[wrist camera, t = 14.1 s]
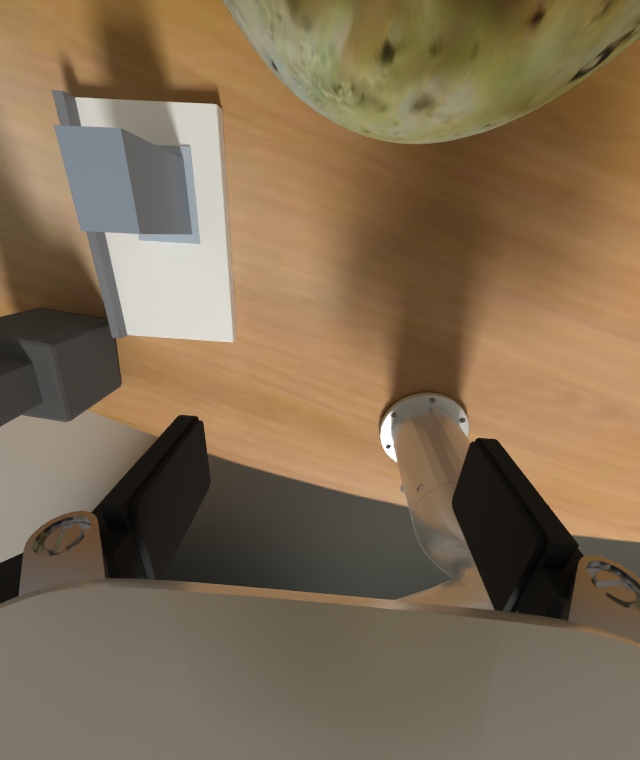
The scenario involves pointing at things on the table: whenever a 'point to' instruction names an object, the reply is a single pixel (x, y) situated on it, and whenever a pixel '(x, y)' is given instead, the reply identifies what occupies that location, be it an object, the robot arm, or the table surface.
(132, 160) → the box
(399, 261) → the table surface
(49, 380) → the sculpture
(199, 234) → the shelf board
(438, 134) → the speckled stone ball
